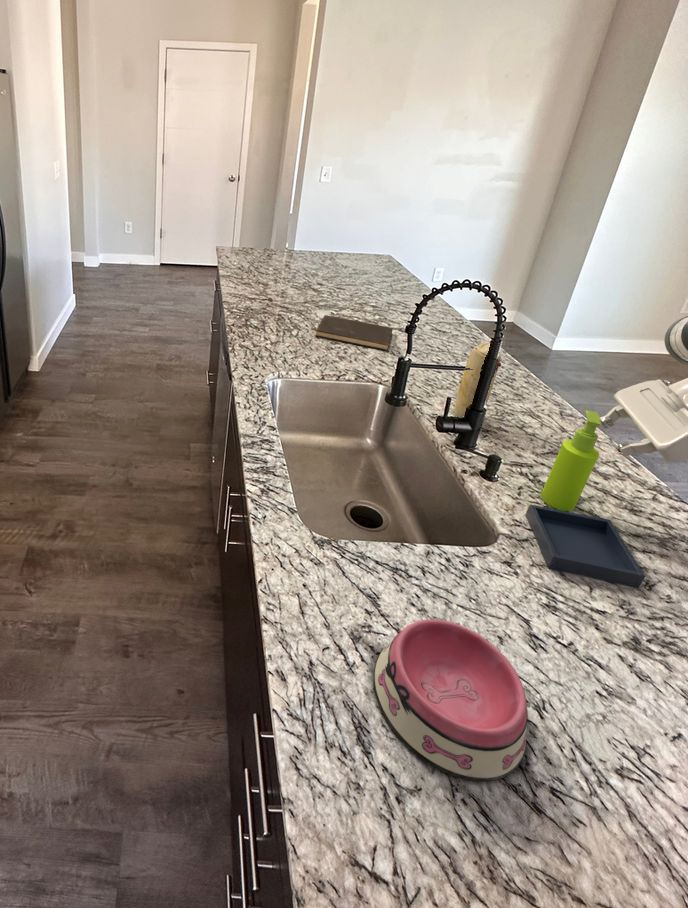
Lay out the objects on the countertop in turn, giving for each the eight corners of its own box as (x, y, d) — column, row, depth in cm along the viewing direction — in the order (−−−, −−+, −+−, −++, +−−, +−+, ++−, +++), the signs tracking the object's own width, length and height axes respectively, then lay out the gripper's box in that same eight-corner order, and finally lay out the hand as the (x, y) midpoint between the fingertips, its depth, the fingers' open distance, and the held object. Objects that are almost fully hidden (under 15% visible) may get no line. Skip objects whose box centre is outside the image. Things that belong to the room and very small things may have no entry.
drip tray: (604, 531, 102) (610, 519, 101) (638, 588, 90) (645, 576, 89) (525, 515, 105) (529, 504, 104) (548, 568, 93) (553, 556, 92)
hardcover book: (387, 351, 170) (388, 344, 169) (314, 336, 179) (315, 330, 178) (391, 333, 184) (393, 327, 183) (324, 320, 192) (325, 314, 191)
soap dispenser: (573, 495, 111) (610, 413, 102) (575, 515, 105) (615, 430, 97) (540, 484, 113) (574, 404, 105) (540, 504, 108) (576, 420, 99)
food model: (484, 430, 132) (509, 357, 123) (454, 424, 133) (477, 352, 125) (477, 410, 140) (500, 340, 131) (449, 405, 142) (470, 336, 133)
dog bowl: (352, 641, 79) (361, 609, 76) (472, 636, 81) (485, 605, 78) (410, 787, 63) (424, 754, 60) (559, 778, 64) (580, 745, 61)
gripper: (658, 364, 105) (582, 398, 111) (718, 420, 87) (623, 456, 94) (675, 388, 105) (598, 420, 112) (738, 448, 88) (643, 481, 95)
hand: (610, 437), depth 103 cm, fingers open, 8 cm apart
